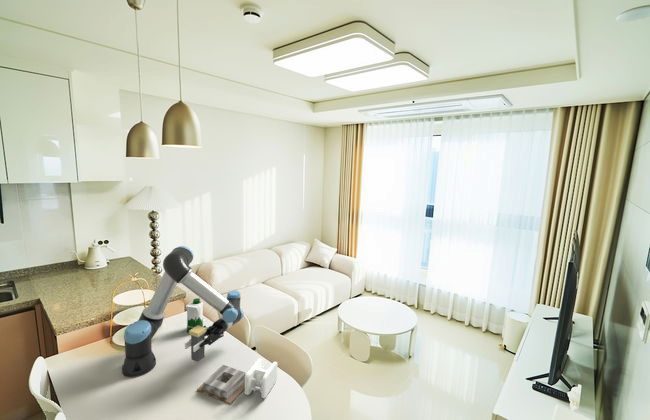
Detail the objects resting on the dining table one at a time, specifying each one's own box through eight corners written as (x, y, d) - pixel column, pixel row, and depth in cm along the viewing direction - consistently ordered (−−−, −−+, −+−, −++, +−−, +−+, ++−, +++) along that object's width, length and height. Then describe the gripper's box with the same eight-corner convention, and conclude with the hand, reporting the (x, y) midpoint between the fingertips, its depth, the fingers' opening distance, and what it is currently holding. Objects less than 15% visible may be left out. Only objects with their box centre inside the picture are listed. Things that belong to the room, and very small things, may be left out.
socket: (196, 390, 141) (196, 381, 140) (219, 370, 156) (219, 361, 155) (230, 404, 134) (230, 395, 133) (251, 381, 149) (251, 373, 148)
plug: (189, 359, 148) (189, 330, 146) (197, 353, 153) (197, 325, 151) (198, 363, 146) (198, 333, 144) (206, 356, 151) (206, 327, 149)
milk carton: (205, 327, 195) (204, 298, 192) (196, 334, 186) (196, 305, 183) (192, 325, 196) (192, 297, 193) (184, 332, 187) (183, 303, 184)
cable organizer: (263, 403, 136) (264, 380, 134) (243, 397, 139) (243, 375, 137) (277, 381, 150) (278, 360, 149) (258, 376, 153) (259, 355, 151)
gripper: (234, 335, 162) (203, 360, 141) (209, 327, 168) (176, 349, 147) (235, 322, 161) (203, 345, 140) (209, 315, 167) (176, 336, 146)
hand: (189, 347), depth 143 cm, fingers closed on plug, 4 cm apart
